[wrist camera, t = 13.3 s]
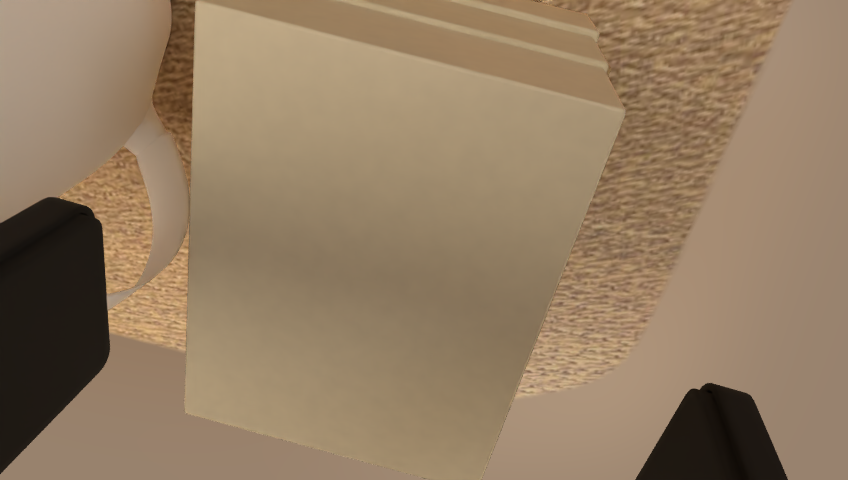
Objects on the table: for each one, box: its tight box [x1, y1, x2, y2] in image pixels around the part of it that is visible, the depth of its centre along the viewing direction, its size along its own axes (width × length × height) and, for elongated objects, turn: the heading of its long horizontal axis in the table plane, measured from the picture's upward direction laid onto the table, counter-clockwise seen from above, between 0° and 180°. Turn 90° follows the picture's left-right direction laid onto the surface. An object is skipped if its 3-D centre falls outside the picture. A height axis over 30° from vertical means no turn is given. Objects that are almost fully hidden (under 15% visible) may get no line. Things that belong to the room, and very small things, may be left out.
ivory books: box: [336, 0, 611, 77], centre depth 17 cm, size 7×10×6 cm
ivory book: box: [184, 0, 626, 480], centre depth 13 cm, size 7×9×3 cm
